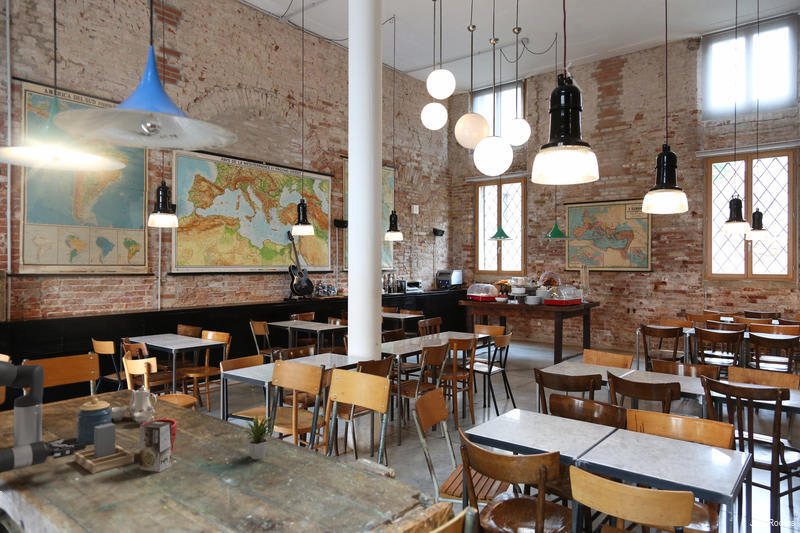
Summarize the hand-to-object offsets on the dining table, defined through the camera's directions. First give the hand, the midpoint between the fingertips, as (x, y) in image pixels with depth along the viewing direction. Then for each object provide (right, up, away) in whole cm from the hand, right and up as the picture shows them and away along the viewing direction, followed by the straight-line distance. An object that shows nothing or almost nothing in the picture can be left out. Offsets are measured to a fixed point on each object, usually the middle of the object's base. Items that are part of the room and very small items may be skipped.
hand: (81, 442), depth 187 cm
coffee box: (+27, -10, +1) cm, 29 cm away
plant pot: (+21, -10, +15) cm, 28 cm away
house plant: (+61, -10, +11) cm, 63 cm away
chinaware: (-10, -9, +58) cm, 60 cm away
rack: (+5, -9, +6) cm, 12 cm away
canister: (-14, -9, +31) cm, 35 cm away
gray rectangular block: (+5, -9, +6) cm, 12 cm away
